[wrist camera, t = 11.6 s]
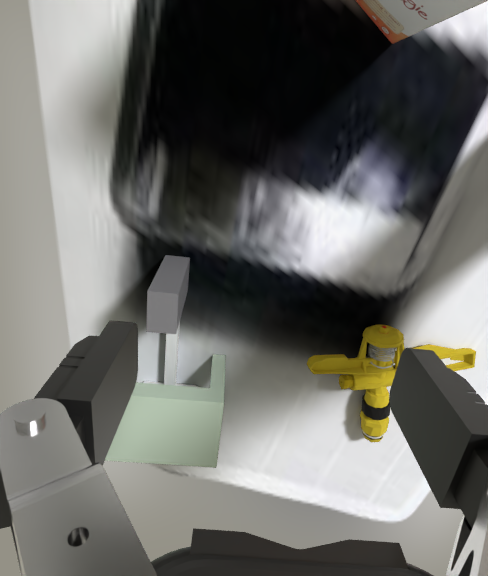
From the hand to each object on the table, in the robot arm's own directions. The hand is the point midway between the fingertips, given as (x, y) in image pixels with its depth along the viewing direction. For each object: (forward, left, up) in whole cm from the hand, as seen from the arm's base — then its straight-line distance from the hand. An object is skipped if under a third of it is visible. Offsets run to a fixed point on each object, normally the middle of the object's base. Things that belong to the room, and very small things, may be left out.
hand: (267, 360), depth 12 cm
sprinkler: (-19, +18, -28) cm, 38 cm away
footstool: (+6, +21, -27) cm, 35 cm away
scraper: (+6, +14, -27) cm, 31 cm away
